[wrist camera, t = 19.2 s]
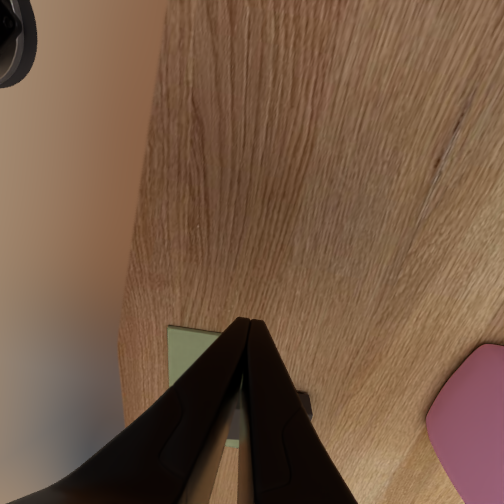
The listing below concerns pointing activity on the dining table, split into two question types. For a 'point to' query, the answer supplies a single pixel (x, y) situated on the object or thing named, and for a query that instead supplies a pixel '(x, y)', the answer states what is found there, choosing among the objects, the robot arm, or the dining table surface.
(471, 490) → the teapot
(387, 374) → the dining table surface
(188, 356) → the mat
